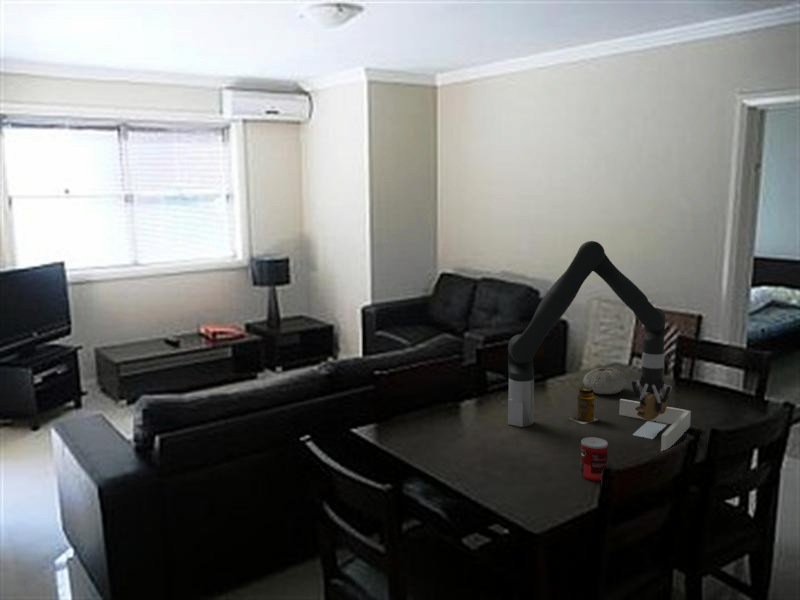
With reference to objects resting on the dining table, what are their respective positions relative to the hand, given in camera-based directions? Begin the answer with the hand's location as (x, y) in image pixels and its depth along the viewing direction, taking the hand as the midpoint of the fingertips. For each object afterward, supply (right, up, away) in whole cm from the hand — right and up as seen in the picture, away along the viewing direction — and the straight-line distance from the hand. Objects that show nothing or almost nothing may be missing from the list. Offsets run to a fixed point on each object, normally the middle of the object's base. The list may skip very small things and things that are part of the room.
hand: (650, 410), depth 247 cm
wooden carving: (0, -3, +1) cm, 3 cm away
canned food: (-31, -14, -36) cm, 49 cm away
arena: (-4, -8, 0) cm, 8 cm away
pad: (0, -7, +1) cm, 7 cm away
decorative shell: (-2, 0, +47) cm, 47 cm away
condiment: (-21, -6, +13) cm, 25 cm away
